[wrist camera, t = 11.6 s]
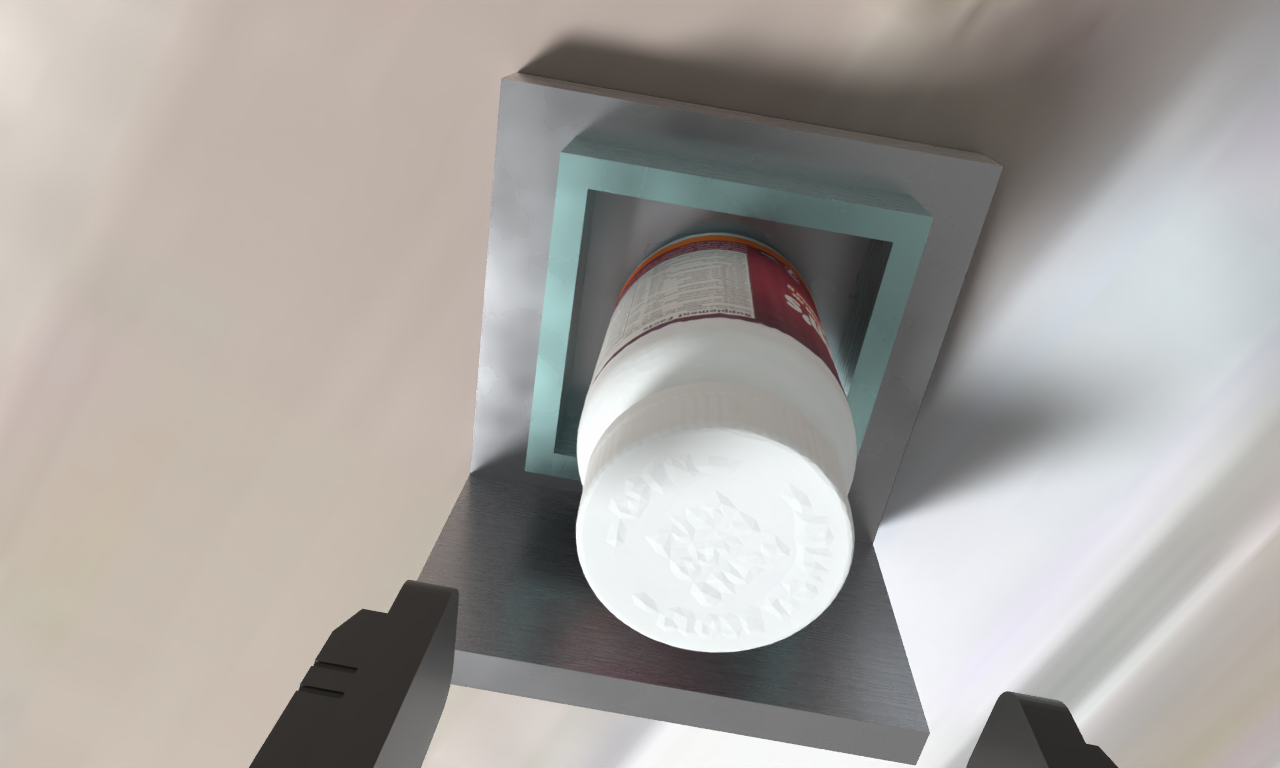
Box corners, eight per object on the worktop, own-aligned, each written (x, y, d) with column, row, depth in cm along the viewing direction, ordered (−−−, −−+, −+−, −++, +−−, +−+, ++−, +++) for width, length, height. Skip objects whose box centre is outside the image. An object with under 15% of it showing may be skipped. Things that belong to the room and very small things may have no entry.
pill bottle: (838, 381, 26) (925, 637, 15) (654, 436, 27) (621, 705, 17) (781, 196, 23) (837, 352, 13) (582, 266, 25) (494, 457, 14)
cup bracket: (981, 153, 24) (1142, 246, 15) (854, 537, 30) (915, 765, 21) (516, 72, 24) (404, 117, 15) (482, 472, 30) (387, 672, 21)
